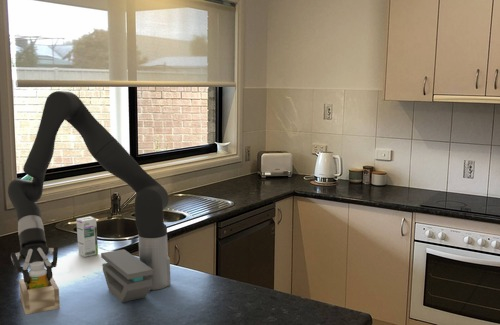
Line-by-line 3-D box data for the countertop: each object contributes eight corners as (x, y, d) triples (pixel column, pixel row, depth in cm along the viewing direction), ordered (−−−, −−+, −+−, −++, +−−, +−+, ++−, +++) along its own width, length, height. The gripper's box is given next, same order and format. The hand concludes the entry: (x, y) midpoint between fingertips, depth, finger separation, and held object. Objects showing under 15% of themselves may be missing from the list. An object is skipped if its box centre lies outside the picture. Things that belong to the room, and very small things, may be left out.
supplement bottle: (29, 298, 165) (27, 267, 163) (29, 292, 170) (27, 261, 168) (48, 295, 167) (47, 264, 165) (47, 289, 172) (45, 259, 170)
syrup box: (84, 257, 213) (82, 220, 211) (78, 254, 218) (76, 218, 216) (98, 254, 217) (96, 218, 215) (91, 251, 221) (89, 215, 219)
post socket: (52, 292, 177) (51, 274, 176) (59, 308, 164) (58, 288, 164) (20, 298, 172) (19, 279, 171) (25, 314, 160) (24, 294, 159)
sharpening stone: (154, 304, 167) (153, 269, 165) (129, 309, 163) (127, 274, 161) (125, 280, 188) (124, 249, 186) (102, 284, 184) (101, 253, 182)
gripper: (7, 229, 169) (13, 279, 160) (56, 224, 175) (64, 271, 166) (6, 242, 174) (12, 291, 165) (54, 236, 181) (62, 282, 172)
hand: (38, 281), depth 166 cm, fingers closed on supplement bottle, 5 cm apart
